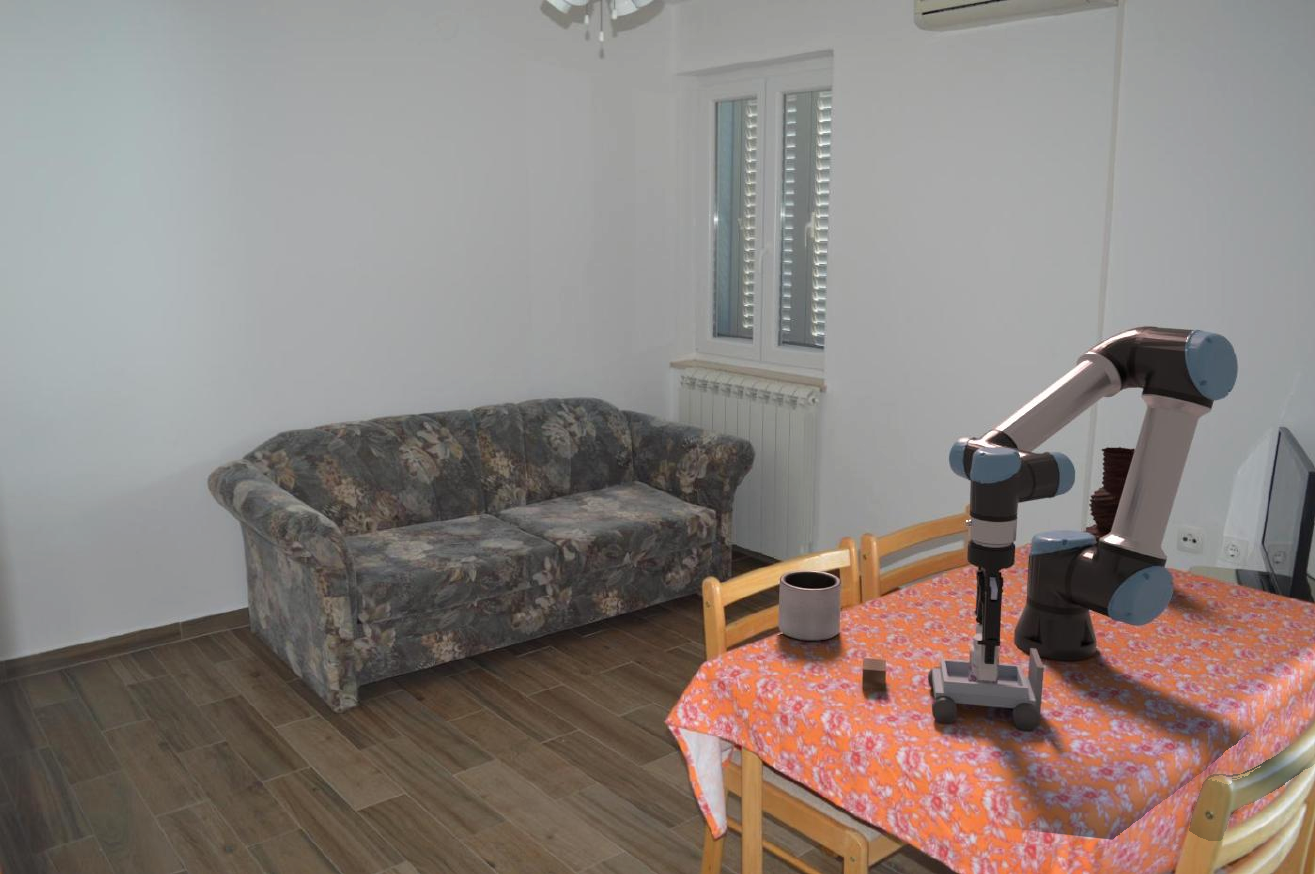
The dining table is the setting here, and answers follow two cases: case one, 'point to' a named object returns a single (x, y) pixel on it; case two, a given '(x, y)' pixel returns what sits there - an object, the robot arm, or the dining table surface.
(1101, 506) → the vase
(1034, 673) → the trolley
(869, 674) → the block
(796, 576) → the planter
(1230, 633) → the dining table surface
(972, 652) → the pill bottle
